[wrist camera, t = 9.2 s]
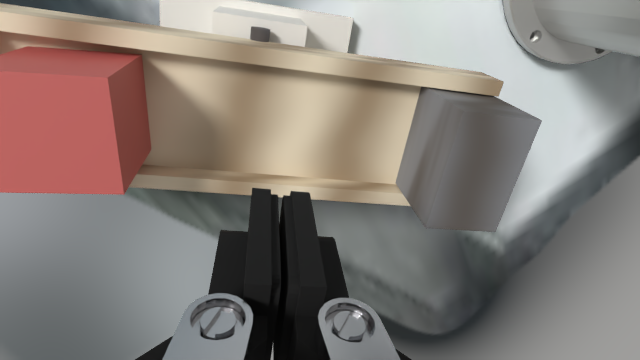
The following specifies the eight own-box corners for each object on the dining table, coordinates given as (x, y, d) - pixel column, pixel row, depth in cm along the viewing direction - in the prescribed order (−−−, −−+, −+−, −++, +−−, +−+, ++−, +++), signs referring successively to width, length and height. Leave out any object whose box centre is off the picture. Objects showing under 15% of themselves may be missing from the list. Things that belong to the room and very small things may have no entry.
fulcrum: (350, 17, 27) (370, 26, 22) (324, 164, 31) (336, 197, 27) (162, -14, 24) (140, -11, 20) (165, 150, 29) (147, 185, 24)
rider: (141, 54, 19) (107, 77, 15) (151, 149, 21) (124, 194, 17) (27, 46, 18) (-46, 68, 14) (50, 146, 21) (-7, 192, 16)
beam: (479, 59, 24) (555, 88, 18) (436, 194, 28) (485, 254, 22) (-19, -15, 18) (-151, -11, 12) (16, 162, 22) (-71, 230, 16)
